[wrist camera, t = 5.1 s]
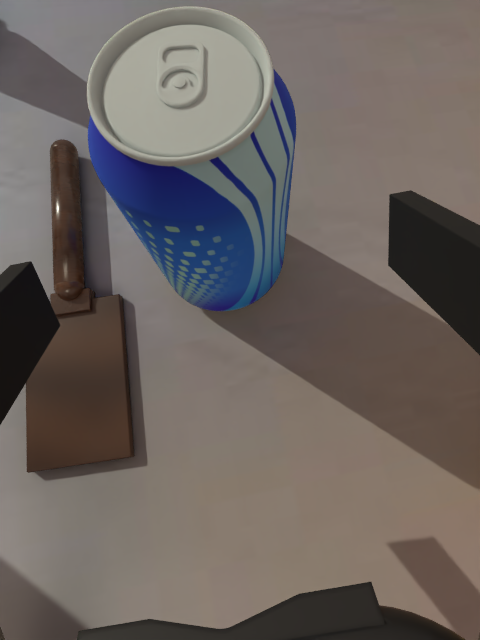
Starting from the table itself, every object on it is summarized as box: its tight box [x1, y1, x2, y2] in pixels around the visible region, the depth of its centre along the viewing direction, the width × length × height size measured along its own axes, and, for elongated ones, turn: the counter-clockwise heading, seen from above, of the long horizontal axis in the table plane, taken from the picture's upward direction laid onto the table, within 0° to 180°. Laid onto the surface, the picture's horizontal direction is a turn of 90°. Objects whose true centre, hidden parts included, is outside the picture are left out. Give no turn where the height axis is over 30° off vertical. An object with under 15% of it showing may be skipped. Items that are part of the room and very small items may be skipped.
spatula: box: [26, 140, 134, 473], centre depth 29 cm, size 24×7×2 cm, turn 8°
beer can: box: [87, 6, 296, 311], centre depth 22 cm, size 8×8×16 cm
